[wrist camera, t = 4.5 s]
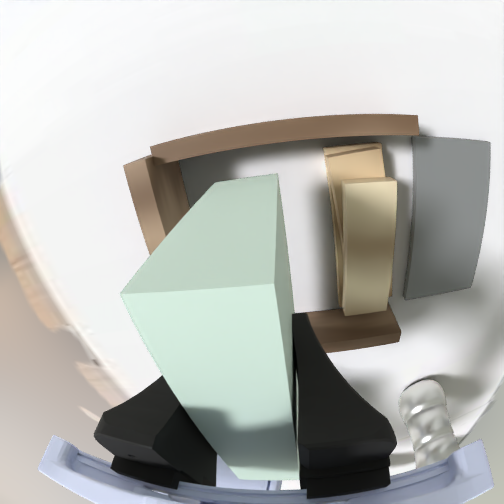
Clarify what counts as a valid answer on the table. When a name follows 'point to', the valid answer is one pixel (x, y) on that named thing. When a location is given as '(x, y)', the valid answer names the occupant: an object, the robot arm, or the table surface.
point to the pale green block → (227, 324)
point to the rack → (167, 154)
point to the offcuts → (362, 225)
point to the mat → (446, 214)
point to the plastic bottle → (427, 422)
